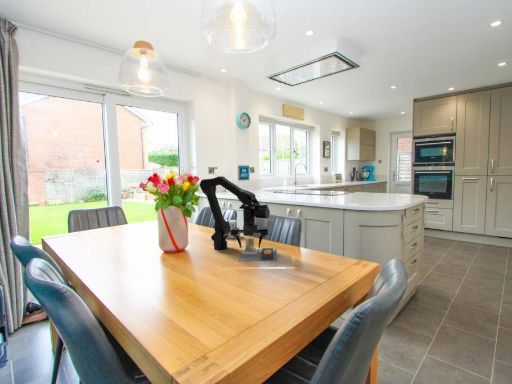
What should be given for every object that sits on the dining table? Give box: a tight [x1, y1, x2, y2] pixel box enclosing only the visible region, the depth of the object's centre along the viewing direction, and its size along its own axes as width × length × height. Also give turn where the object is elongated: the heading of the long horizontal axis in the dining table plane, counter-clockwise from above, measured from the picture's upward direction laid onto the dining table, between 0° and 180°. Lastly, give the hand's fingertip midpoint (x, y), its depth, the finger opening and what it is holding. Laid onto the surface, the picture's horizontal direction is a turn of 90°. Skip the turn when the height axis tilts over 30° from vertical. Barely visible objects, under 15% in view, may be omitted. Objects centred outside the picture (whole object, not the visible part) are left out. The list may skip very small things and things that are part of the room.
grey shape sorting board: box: [238, 247, 278, 262], centre depth 128 cm, size 18×18×4 cm
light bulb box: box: [224, 219, 238, 239], centre depth 168 cm, size 11×7×11 cm, turn 84°
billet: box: [245, 236, 255, 252], centre depth 133 cm, size 4×4×7 cm
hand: (250, 248), depth 133 cm, fingers open, 9 cm apart
